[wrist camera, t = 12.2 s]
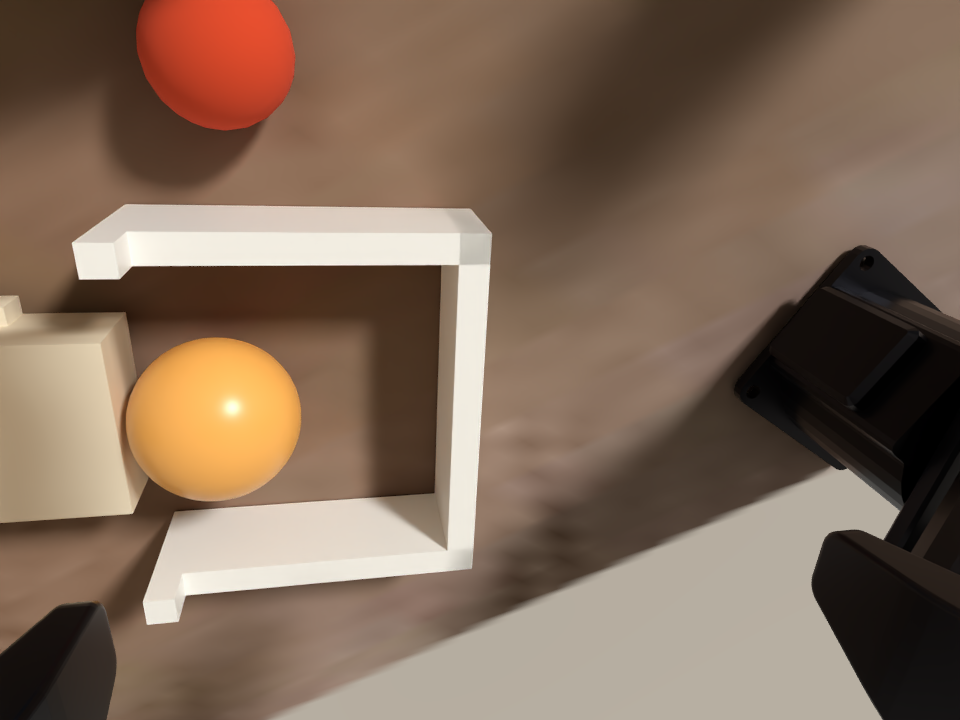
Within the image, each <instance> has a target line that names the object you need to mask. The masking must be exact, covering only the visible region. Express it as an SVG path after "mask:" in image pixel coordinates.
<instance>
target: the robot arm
mask: <svg viewBox="0 0 960 720" xmlns="http://www.w3.org/2000/svg"><path fill="white" fill-rule="evenodd" d="M864 257H865V261H864V263H863V264H862V265H861V266H860V262H861V261H862V259H863V258H864ZM751 386H754V387H753V389H752V390H751V391H750V392H749V393H747V390H748V389H749V388H750V387H751ZM734 394H735V395H736V397H737V398H738V399H739V400H741V401H742V402H743V403H744V404H746V405H747V406H748V407H750V408H751V409H753V410H754V411H755V412H757V413H758V414H760V415H761V416H763V417H764V418H765V419H767V420H768V421H770V422H771V423H772V424H774V425H775V426H777V427H778V428H779V429H781V430H782V431H784V432H785V433H786V434H788V435H789V436H791V437H792V438H793V439H795V440H796V441H798V442H799V443H801V444H802V445H803V446H805V447H806V448H808V449H809V450H810V451H812V452H813V453H815V454H816V455H817V456H819V457H820V458H822V459H823V460H824V461H826V462H827V463H829V464H830V465H831V466H833V467H834V468H836V469H838V470H844V469H847V468H848V469H849V470H851V471H852V472H853V473H854V474H855V475H857V476H858V477H859V478H860V479H862V480H863V481H864V482H865V483H866V484H868V485H869V486H870V487H871V488H873V489H874V490H875V491H876V492H878V493H879V494H880V495H881V496H882V497H884V498H885V499H886V500H887V501H889V502H890V503H891V504H892V505H893V506H895V507H896V508H897V509H898V510H900V512H899V514H898V516H897V517H896V519H895V521H894V523H893V524H892V526H891V528H890V530H889V531H888V533H887V535H886V536H885V538H884V540H882V539H879V538H877V537H875V536H873V535H871V534H868V533H866V532H864V531H861V530H845V531H835V532H831V533H829V534H828V535H827V536H826V537H825V539H824V542H823V544H822V548H821V551H820V554H819V557H818V560H817V563H816V566H815V569H814V573H813V576H812V591H813V594H814V597H815V599H816V601H817V603H818V605H819V606H820V608H821V610H822V612H823V614H824V615H825V617H826V619H827V621H828V623H829V625H830V627H831V629H832V630H833V632H834V634H835V636H836V638H837V640H838V642H839V643H840V645H841V647H842V649H843V651H844V652H845V654H846V656H847V658H848V660H849V661H850V664H851V666H852V667H853V669H854V671H855V673H856V675H857V677H858V678H859V680H860V682H861V684H862V686H863V688H864V689H865V691H866V693H867V694H868V696H869V698H870V700H871V702H872V703H873V705H874V707H875V708H876V710H877V711H878V713H879V715H880V716H881V718H882V719H883V720H960V320H958V319H955V318H953V317H951V316H948V315H946V314H944V313H942V312H941V311H940V310H939V309H938V308H937V307H936V306H935V305H934V304H933V303H932V302H931V301H930V300H929V299H927V298H926V297H925V296H924V295H923V294H922V293H921V292H920V291H919V290H918V289H917V288H916V287H915V286H914V285H913V284H912V283H911V282H910V281H909V280H908V279H907V278H906V277H905V276H904V275H903V274H902V273H900V272H899V271H898V270H897V269H896V268H895V267H894V266H893V265H892V264H891V263H890V262H889V261H888V260H887V259H886V258H885V257H884V256H883V255H882V254H881V253H880V252H879V251H877V250H876V249H874V248H871V247H868V246H865V245H860V246H857V247H855V248H854V249H853V250H851V251H850V252H849V253H848V254H847V256H846V257H845V258H844V259H843V260H842V261H841V263H840V264H839V265H838V266H837V267H836V268H835V269H834V271H833V272H832V273H831V274H830V275H829V276H828V277H827V279H826V280H825V281H824V282H823V283H822V284H821V285H820V287H819V288H818V289H817V290H816V291H815V292H814V294H813V295H812V296H811V297H810V298H809V299H808V300H807V302H806V303H805V304H804V305H803V306H802V307H801V308H800V310H799V311H798V312H797V313H796V314H795V315H794V316H793V318H792V319H791V320H790V321H789V322H788V323H787V324H786V326H785V327H784V328H783V329H782V330H781V331H780V333H779V334H778V335H777V336H776V337H775V338H774V339H773V341H772V342H771V343H770V344H769V345H768V346H767V347H766V349H765V350H764V351H763V352H762V353H761V354H760V355H759V357H758V358H757V359H756V360H755V361H754V362H753V363H752V365H751V366H750V367H749V368H748V369H747V370H746V372H745V373H744V374H743V375H742V376H741V377H740V378H739V380H738V381H737V382H736V384H735V387H734ZM116 663H117V662H116V653H115V648H114V644H113V640H112V635H111V631H110V627H109V622H108V618H107V613H106V610H105V608H104V606H103V604H102V603H100V602H98V601H87V602H76V603H66V604H62V605H59V606H57V607H56V608H54V609H53V610H52V611H50V612H49V613H48V614H47V615H46V616H45V617H43V618H42V619H41V620H40V621H39V622H37V623H36V624H35V625H34V626H33V627H32V628H30V629H29V630H28V631H27V632H26V633H25V634H23V635H22V636H21V637H20V638H19V639H17V640H16V641H15V642H14V643H13V644H12V645H10V646H9V647H8V648H7V649H6V650H5V651H3V652H2V653H1V654H0V720H106V719H107V714H108V710H109V705H110V700H111V696H112V691H113V686H114V682H115V676H116Z"/></svg>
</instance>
